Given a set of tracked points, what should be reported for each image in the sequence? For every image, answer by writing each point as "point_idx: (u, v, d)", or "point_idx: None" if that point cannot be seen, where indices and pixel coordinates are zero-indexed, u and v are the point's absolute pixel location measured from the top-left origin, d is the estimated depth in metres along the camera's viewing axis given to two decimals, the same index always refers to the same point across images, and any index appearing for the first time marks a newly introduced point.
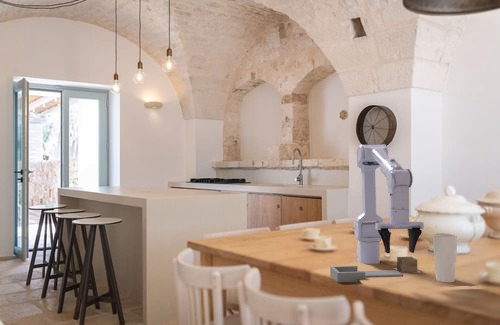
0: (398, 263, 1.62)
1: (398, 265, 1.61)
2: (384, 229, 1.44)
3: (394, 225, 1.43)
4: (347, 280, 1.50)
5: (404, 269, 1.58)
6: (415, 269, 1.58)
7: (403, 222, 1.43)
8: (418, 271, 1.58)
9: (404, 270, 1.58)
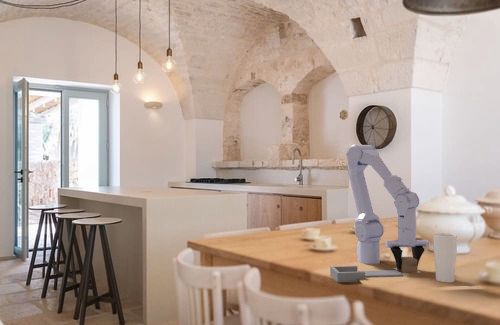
0: None
1: None
2: (393, 247, 1.59)
3: (402, 244, 1.58)
4: (347, 280, 1.50)
5: (404, 269, 1.58)
6: (415, 269, 1.58)
7: (410, 241, 1.58)
8: (418, 271, 1.58)
9: (404, 270, 1.58)
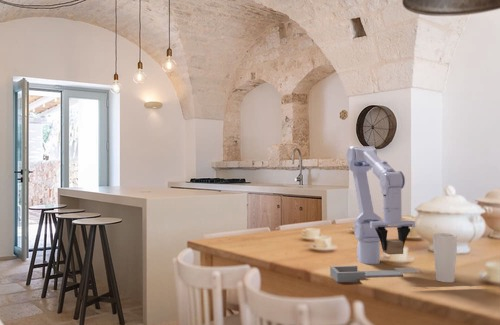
0: None
1: None
2: (378, 227, 1.54)
3: (387, 224, 1.53)
4: (347, 280, 1.50)
5: (389, 251, 1.53)
6: (401, 251, 1.53)
7: (396, 221, 1.53)
8: (418, 271, 1.58)
9: (389, 252, 1.53)
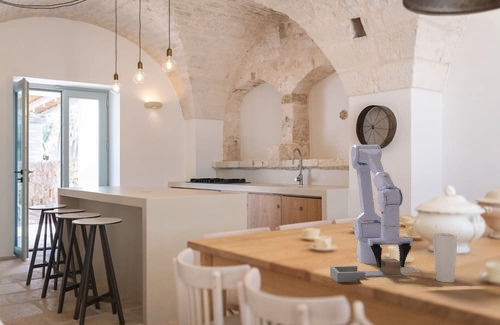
0: (381, 265, 1.56)
1: (381, 267, 1.56)
2: (376, 245, 1.54)
3: (385, 241, 1.53)
4: (347, 280, 1.50)
5: (387, 271, 1.53)
6: (398, 271, 1.53)
7: (393, 238, 1.52)
8: (418, 271, 1.58)
9: (387, 272, 1.53)
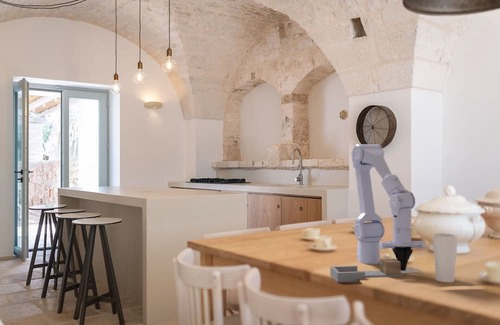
0: (381, 265, 1.56)
1: (381, 267, 1.56)
2: None
3: (397, 245, 1.53)
4: (347, 280, 1.50)
5: (387, 271, 1.53)
6: (398, 271, 1.53)
7: (406, 242, 1.53)
8: (418, 271, 1.58)
9: (387, 272, 1.53)
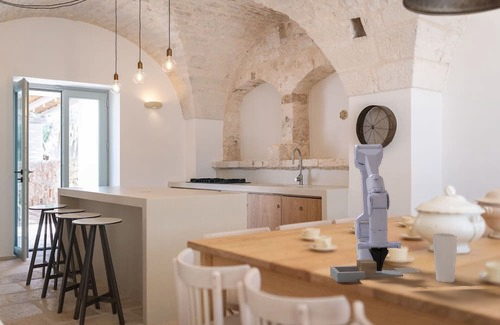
0: (357, 266, 1.56)
1: (358, 268, 1.55)
2: (364, 249, 1.54)
3: (373, 245, 1.52)
4: (347, 280, 1.50)
5: None
6: (374, 272, 1.52)
7: (381, 242, 1.52)
8: (418, 271, 1.58)
9: None
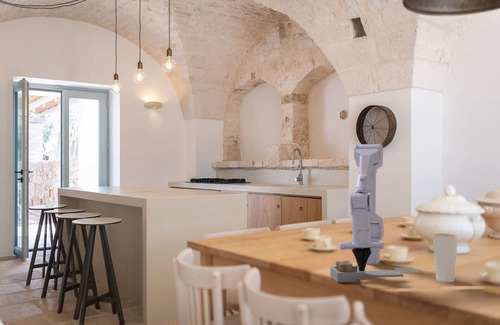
0: None
1: None
2: None
3: (356, 246, 1.52)
4: (347, 280, 1.50)
5: None
6: (350, 266, 1.52)
7: (364, 243, 1.52)
8: (418, 271, 1.58)
9: None
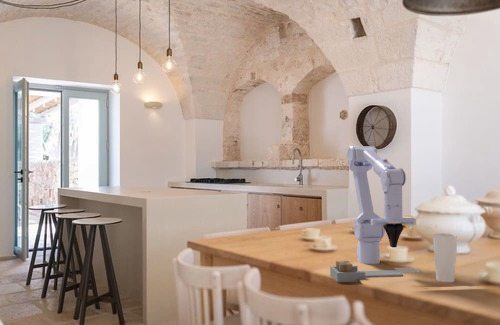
0: None
1: None
2: (379, 225, 1.54)
3: (388, 221, 1.53)
4: (347, 280, 1.50)
5: None
6: (350, 266, 1.52)
7: (396, 218, 1.52)
8: (418, 271, 1.58)
9: None
